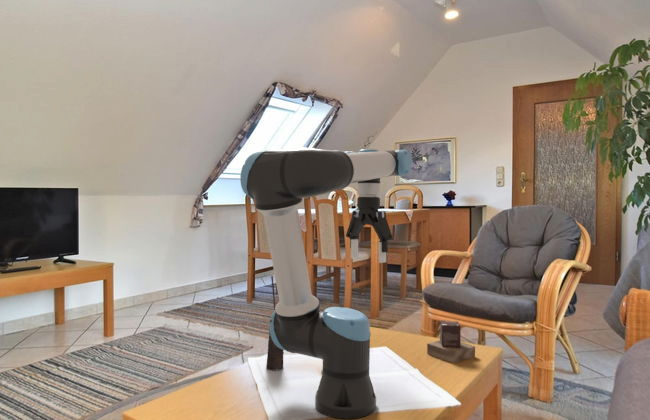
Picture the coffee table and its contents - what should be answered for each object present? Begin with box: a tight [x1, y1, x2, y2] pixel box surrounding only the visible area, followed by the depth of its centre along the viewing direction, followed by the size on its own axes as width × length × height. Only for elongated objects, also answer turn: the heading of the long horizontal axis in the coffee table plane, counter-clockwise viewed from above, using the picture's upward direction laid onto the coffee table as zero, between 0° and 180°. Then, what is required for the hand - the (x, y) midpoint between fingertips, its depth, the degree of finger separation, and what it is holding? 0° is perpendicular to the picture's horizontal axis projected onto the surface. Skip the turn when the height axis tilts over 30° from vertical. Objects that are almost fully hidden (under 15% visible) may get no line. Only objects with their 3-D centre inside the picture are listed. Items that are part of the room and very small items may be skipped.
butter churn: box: [265, 275, 285, 371], centre depth 138 cm, size 9×10×28 cm
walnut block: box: [426, 340, 476, 364], centre depth 152 cm, size 11×11×4 cm
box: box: [439, 320, 462, 347], centre depth 153 cm, size 6×6×7 cm
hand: (367, 260), depth 151 cm, fingers open, 13 cm apart
